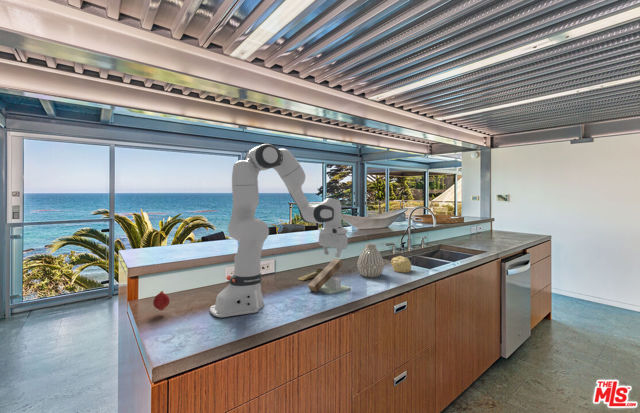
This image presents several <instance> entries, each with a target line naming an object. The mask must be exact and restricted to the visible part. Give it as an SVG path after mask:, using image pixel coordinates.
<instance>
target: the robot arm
mask: <svg viewBox="0 0 640 413" xmlns="http://www.w3.org/2000/svg"><path fill="white" fill-rule="evenodd" d="M270 169H273V170H274V171H275V172H277V174H278V176H279V177H280V179H281V180H282V181H283V183H284V185H285V187H286V188H287V191H288V192H289V196H291V197H290V198H292V201H293V202H294V204H295V205H296V207H297V209H298V211H299V216H300V219H301V220H302V221H303V222H304V223H307V224H312V223H313V224H323V223H324V224H323V228H321V229H320V232H319V234H318V245H319V246H322V250H323V251H324V253H323V254H324V255H326V256H328V255H330V254H329V250H328V248H331V249H332V248H333V249H336V253H335V257H336V258H340V257H341V253H342V250H347V248H348V235H347V234H348V231H349V230H348V229H347V228H345V227H344V226H343V225H342V221H341V217H342V204H341V201H340V200H339V199H338V198H334V197H333V198H332V197H326V199H324V200H322V201H321V202H319V203H311V202H310V201H308V198H307V197H306V195H305V193H304V192H303V189H302V186H303V185H304V183H305V181H306V173H305V170H304V169H303V167H302V166H301V164H300V162H299V161H298V160H297V158H296V157H295V156H294V155H293V154H292V153H291V151H290V150H288V149H287V148H278V147H276V146H275V145H273V144H270V143H263V144H260V145H256V146H253V148H251V149H249V150H248V151H247V152H246V154H245V156H244V158H243V159H241V160H238V161H236V162H235V163H234V165H233V166H232V172H231V174H232V175H231V190H232V192H231V193H232V207H231V208H232V209H231V216H230V222H229V224H228V225H227V231H228V235H230V236H231V238H233V239H234V240H235V241H238V243H239V244H238V247H237V248H238V249H237V251H236V253H235V255H234V274H233V275H230V274H228V275H227V276H226V280H227V281H229V284H228V285H227V286H226V287H225V288H223V289H222V290H221V291H220V292H219V293H218V294H217V295H216V300H215V303H214V304H213V305H211V306H210V307H209V312H210V313H211V314H212V316H215V317H218V318H227V317H234V316H239V315H247V314H254V313H258V312H259V311H260V309H262V308H264V306H265V303H264V300H263V295H262V282H263V281H262V279H263V278H262V272H261V256H262V250H263V246H264V243H265V241H266V240H267V239H268V237H269V235H270V229H269V226H268V223H266V222H265V221H264V220H262V219H260V218H257V217H255V216H256V210H257V207H258V206H259V203H260V198H259V181H258V178H259V174H260V172H261V171H266V170H270Z"/></svg>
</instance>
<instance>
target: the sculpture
mask: <svg viewBox="0 0 640 413" xmlns="http://www.w3.org/2000/svg"><path fill="white" fill-rule="evenodd" d="M390 264H391V267H392V269H393V272H397V273H409V272H411V270H412V263H411V261H410V259H409V258H407V257H405V256H402V255H398V256H395V257H392V258H391V260H390Z"/></svg>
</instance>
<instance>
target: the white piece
mask: <svg viewBox="0 0 640 413" xmlns="http://www.w3.org/2000/svg"><path fill="white" fill-rule="evenodd" d="M341 280H342V278H340V277H336V276H334V275H333V276H332V277H331V278H330V279H329V280H328V281H327V282H326V283H325V284H324V285H323V286H322V287H321V288H320V289H319V290H318V291H321V292H323V293H325V294H327V295H332V294H337V293H341V292H346V291H349V290H352V287H350V286H347V285H346V284H345V285H344V284H342V281H341Z"/></svg>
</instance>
